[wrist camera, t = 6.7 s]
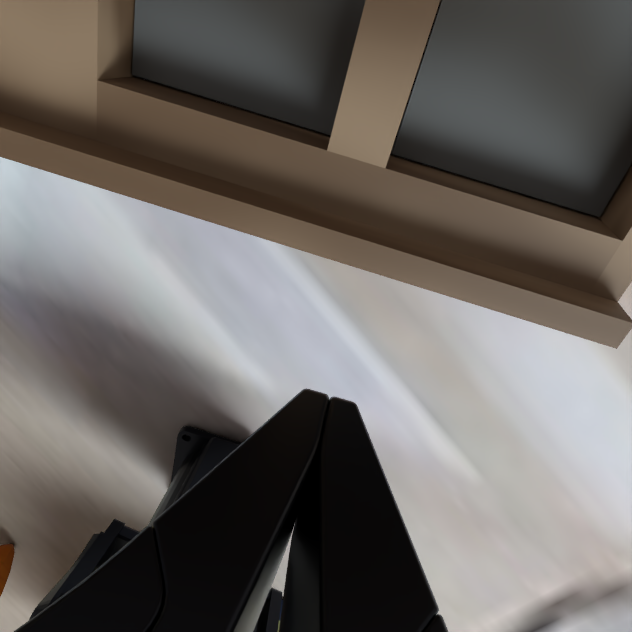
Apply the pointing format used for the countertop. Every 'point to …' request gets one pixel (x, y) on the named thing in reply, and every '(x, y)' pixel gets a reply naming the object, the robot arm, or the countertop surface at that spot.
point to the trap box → (355, 133)
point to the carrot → (5, 563)
